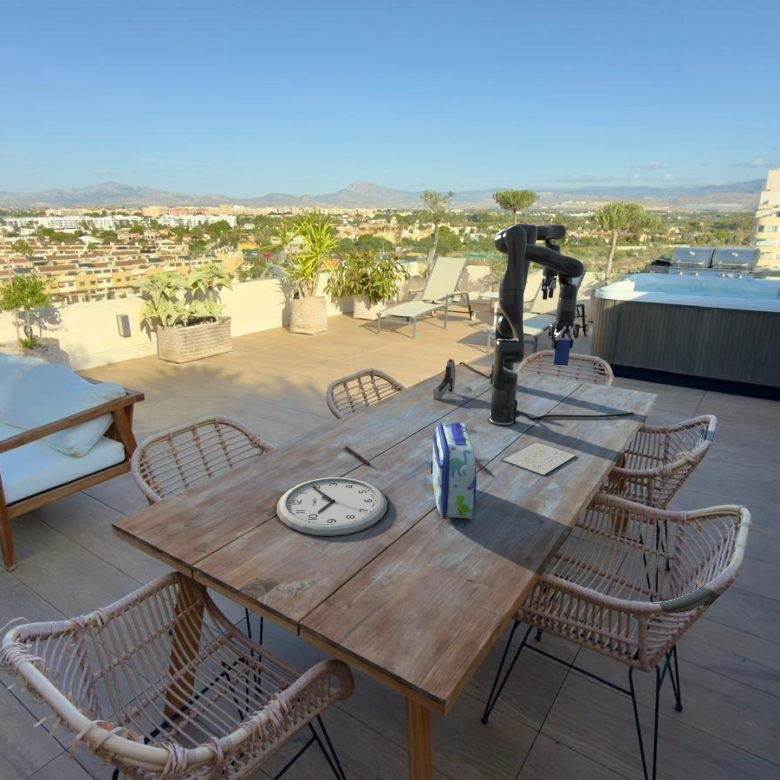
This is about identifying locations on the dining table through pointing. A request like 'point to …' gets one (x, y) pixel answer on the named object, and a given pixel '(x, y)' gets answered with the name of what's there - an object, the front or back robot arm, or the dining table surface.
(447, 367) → the toy gun
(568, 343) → the block
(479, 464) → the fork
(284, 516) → the wall clock
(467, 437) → the lunch box
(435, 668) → the dining table surface
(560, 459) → the invitation card
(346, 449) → the brown wooden stick
